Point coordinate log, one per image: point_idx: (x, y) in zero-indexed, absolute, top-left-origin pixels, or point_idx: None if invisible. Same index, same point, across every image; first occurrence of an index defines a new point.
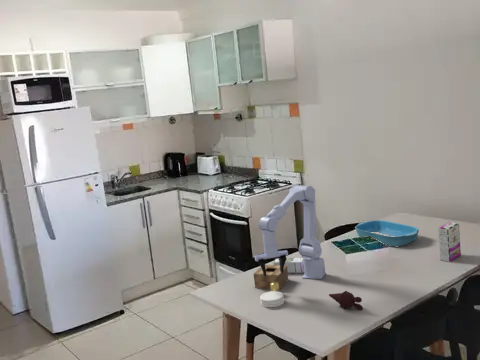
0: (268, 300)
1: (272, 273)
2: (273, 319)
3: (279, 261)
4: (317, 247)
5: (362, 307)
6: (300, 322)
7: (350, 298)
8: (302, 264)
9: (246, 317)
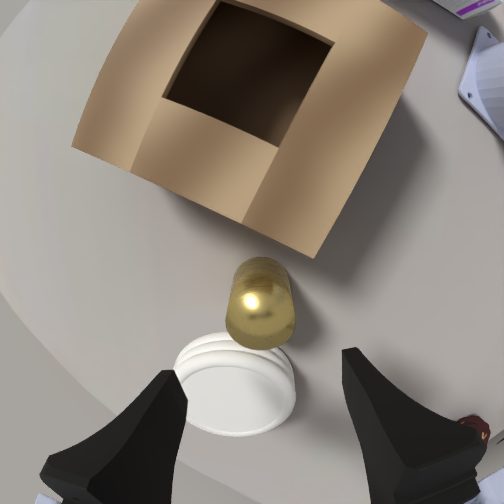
0: (213, 433)
1: (261, 193)
2: (231, 464)
3: (377, 429)
4: None
5: None
6: (307, 480)
7: None
8: (493, 7)
9: None
